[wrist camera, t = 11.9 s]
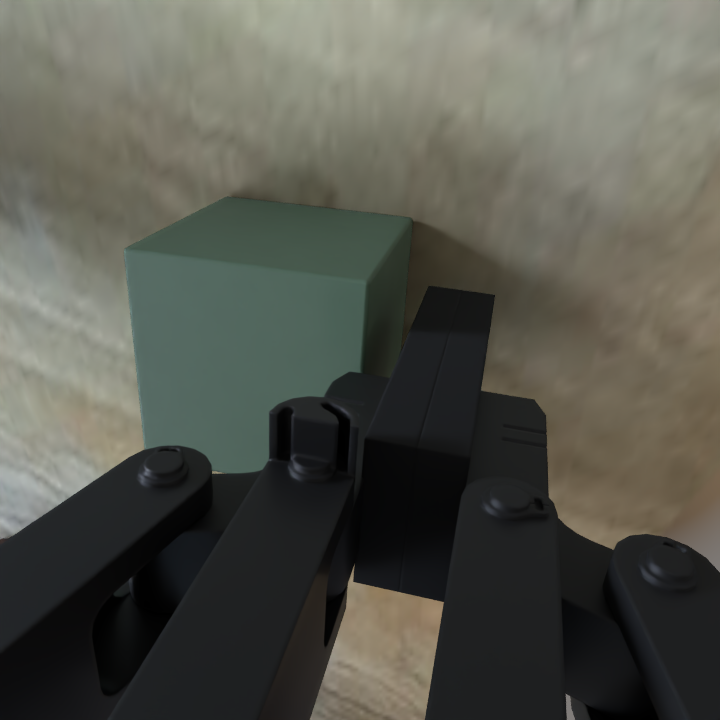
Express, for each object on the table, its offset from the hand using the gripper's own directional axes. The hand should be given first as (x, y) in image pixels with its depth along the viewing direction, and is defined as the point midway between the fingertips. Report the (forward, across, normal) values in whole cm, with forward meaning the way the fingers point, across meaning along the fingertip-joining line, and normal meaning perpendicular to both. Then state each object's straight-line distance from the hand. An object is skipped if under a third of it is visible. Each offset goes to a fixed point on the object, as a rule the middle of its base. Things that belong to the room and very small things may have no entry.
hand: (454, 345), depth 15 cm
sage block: (+2, -4, 0) cm, 5 cm away
